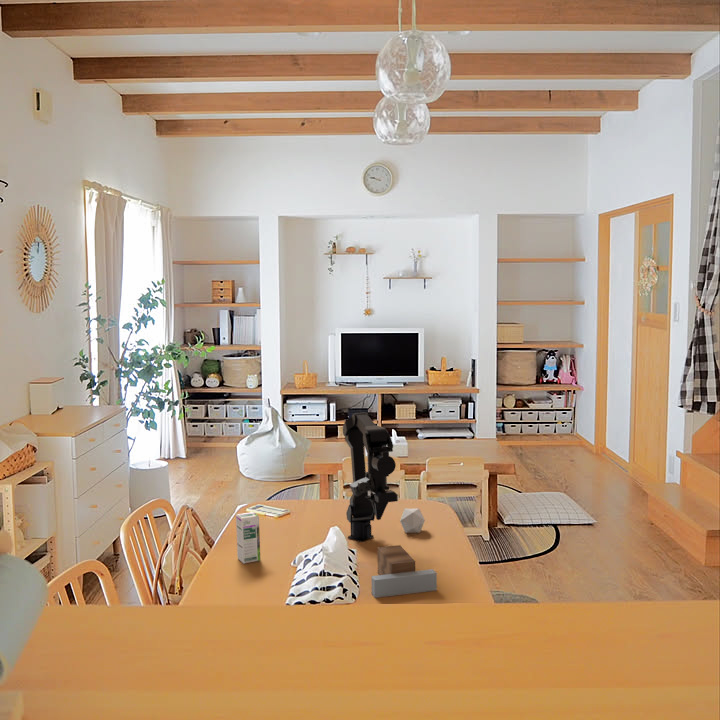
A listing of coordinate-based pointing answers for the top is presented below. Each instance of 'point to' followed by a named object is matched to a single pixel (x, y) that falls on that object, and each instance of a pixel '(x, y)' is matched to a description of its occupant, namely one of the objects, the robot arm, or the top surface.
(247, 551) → the syrup box
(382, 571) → the walnut block
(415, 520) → the die
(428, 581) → the board
